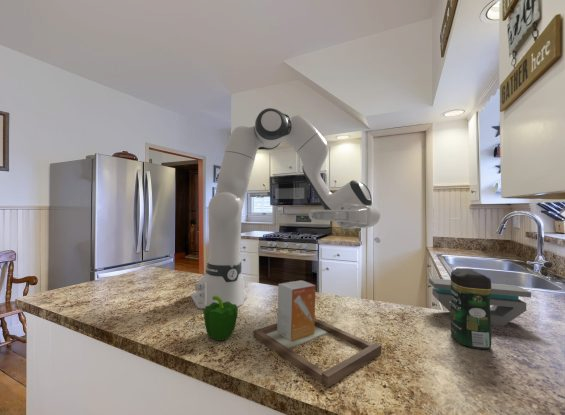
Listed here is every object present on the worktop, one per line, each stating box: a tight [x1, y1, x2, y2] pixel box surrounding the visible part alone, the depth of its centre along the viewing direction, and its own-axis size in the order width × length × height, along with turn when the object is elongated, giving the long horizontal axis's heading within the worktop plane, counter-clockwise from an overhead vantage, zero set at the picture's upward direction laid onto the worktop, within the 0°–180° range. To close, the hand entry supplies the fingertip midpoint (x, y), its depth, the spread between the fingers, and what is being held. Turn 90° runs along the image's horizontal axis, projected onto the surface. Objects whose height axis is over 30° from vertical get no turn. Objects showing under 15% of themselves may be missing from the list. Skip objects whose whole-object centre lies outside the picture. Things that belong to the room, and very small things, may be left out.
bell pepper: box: [203, 296, 239, 341], centre depth 67 cm, size 8×8×10 cm
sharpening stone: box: [428, 277, 532, 327], centre depth 83 cm, size 25×8×11 cm, turn 73°
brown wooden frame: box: [252, 318, 382, 388], centre depth 64 cm, size 25×19×2 cm
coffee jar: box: [450, 267, 492, 350], centre depth 68 cm, size 10×8×19 cm
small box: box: [276, 279, 317, 341], centre depth 69 cm, size 8×6×13 cm
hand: (321, 215), depth 81 cm, fingers open, 8 cm apart
